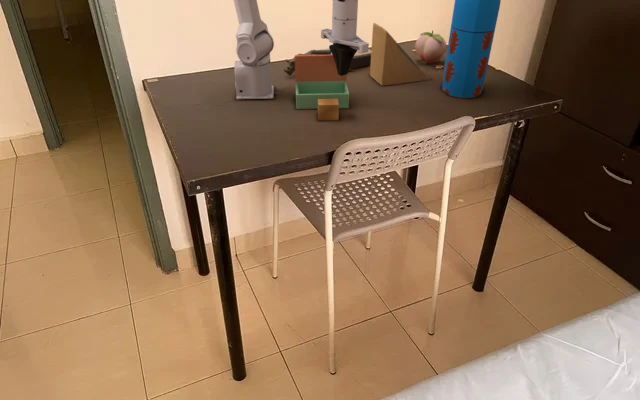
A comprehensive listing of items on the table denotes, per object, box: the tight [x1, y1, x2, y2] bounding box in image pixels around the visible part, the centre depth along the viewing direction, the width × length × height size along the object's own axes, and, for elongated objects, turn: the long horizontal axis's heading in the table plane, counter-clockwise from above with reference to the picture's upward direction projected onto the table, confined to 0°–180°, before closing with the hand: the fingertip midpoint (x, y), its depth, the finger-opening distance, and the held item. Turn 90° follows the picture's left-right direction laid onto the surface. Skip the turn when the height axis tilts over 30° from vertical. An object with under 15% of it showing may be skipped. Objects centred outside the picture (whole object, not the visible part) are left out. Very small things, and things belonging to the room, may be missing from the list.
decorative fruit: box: [414, 30, 447, 65], centre depth 152 cm, size 9×8×10 cm
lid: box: [294, 49, 348, 83], centre depth 129 cm, size 9×13×4 cm
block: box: [317, 99, 340, 121], centre depth 122 cm, size 5×4×4 cm
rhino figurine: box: [283, 50, 311, 77], centre depth 145 cm, size 4×14×6 cm, turn 132°
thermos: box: [441, 0, 502, 99], centre depth 130 cm, size 11×11×25 cm
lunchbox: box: [295, 81, 350, 110], centre depth 130 cm, size 8×13×4 cm, turn 93°
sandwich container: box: [369, 22, 431, 87], centre depth 141 cm, size 9×15×15 cm, turn 109°
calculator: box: [320, 47, 372, 70], centre depth 153 cm, size 11×4×15 cm
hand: (342, 74), depth 123 cm, fingers closed
